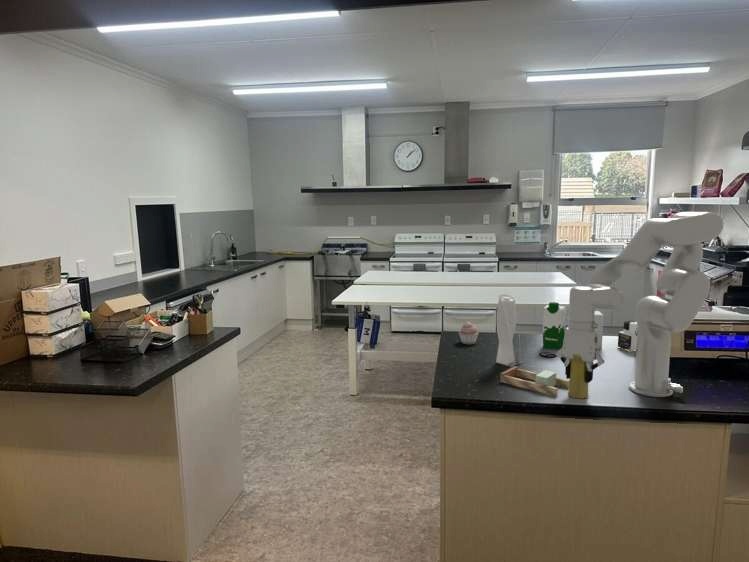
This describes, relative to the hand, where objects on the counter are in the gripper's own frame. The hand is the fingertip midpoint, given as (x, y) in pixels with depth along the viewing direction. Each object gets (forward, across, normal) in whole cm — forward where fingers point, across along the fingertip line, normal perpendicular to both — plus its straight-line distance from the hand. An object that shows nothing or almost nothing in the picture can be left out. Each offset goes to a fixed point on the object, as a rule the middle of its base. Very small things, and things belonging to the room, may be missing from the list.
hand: (578, 379), depth 157 cm
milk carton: (+6, +30, -49) cm, 58 cm away
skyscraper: (+6, +34, -15) cm, 38 cm away
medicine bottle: (+6, +4, -67) cm, 67 cm away
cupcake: (+6, +62, -31) cm, 70 cm away
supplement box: (+6, +19, -61) cm, 64 cm away
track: (+5, +15, 0) cm, 16 cm away
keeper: (+5, +11, 0) cm, 12 cm away
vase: (+6, 0, 0) cm, 6 cm away
